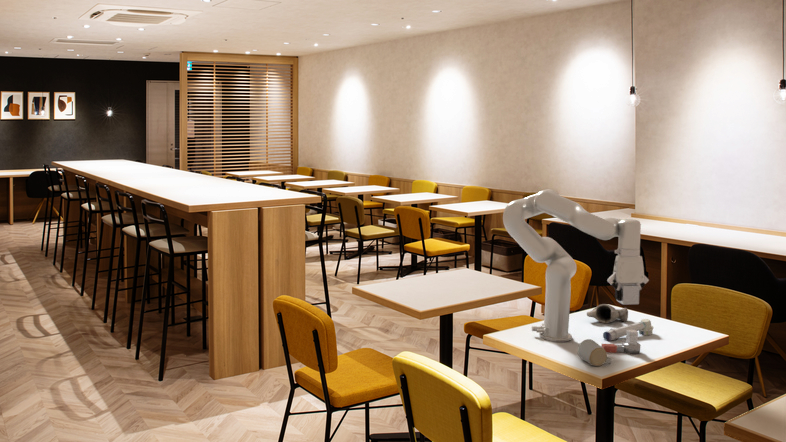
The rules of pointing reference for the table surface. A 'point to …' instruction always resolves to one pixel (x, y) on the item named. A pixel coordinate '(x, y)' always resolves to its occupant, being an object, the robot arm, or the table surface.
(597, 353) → the ceramic mug
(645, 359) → the table surface
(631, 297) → the brushed grey cube
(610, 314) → the grey clay vessel
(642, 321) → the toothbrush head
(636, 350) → the ratchet
